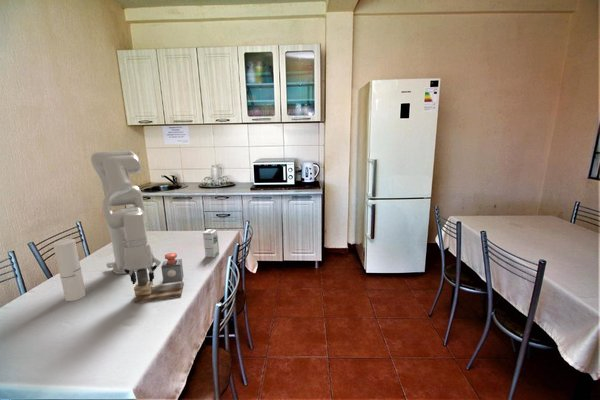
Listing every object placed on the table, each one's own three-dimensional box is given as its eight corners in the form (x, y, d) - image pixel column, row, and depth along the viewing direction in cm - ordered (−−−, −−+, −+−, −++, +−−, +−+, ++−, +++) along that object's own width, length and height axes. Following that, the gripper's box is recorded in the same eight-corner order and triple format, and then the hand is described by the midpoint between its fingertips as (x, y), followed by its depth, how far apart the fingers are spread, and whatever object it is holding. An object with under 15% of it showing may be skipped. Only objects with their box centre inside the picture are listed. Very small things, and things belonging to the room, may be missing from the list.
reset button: (165, 270, 135) (163, 258, 133) (167, 265, 140) (165, 253, 138) (177, 269, 136) (176, 256, 135) (178, 264, 141) (177, 252, 139)
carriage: (135, 296, 122) (131, 273, 120) (138, 289, 128) (135, 267, 126) (150, 294, 124) (147, 271, 121) (153, 287, 130) (150, 265, 127)
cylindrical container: (89, 293, 129) (79, 239, 123) (73, 302, 122) (60, 246, 116) (78, 290, 131) (67, 238, 125) (61, 299, 125) (48, 244, 119)
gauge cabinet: (163, 284, 135) (161, 266, 133) (165, 278, 141) (163, 261, 139) (182, 282, 137) (180, 264, 135) (183, 276, 143) (181, 258, 141)
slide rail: (134, 303, 121) (133, 294, 120) (140, 290, 130) (139, 282, 129) (181, 296, 125) (180, 287, 125) (183, 284, 135) (182, 276, 134)
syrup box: (214, 257, 164) (212, 232, 160) (204, 256, 165) (202, 232, 162) (219, 253, 169) (217, 229, 166) (209, 252, 170) (207, 228, 167)
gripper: (110, 247, 115) (117, 289, 119) (158, 242, 119) (163, 282, 123) (116, 240, 122) (123, 280, 126) (161, 236, 126) (166, 274, 131)
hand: (143, 281), depth 125 cm, fingers open, 5 cm apart
